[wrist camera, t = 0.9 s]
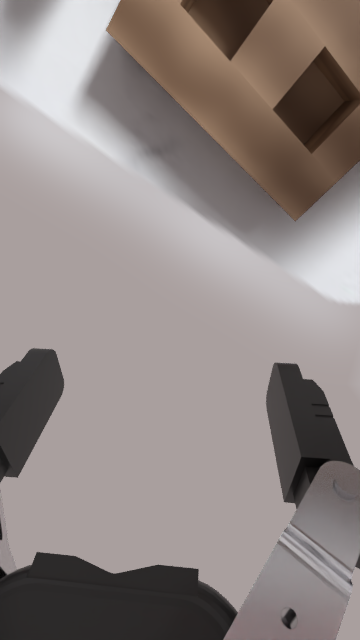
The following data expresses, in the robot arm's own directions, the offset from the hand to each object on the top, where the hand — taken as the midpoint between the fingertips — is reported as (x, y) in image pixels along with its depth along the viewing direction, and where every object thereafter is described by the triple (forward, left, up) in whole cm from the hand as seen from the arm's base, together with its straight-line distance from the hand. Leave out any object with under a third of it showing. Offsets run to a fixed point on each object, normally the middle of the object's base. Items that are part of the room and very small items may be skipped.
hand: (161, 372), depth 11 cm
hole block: (-13, -3, -25) cm, 28 cm away
